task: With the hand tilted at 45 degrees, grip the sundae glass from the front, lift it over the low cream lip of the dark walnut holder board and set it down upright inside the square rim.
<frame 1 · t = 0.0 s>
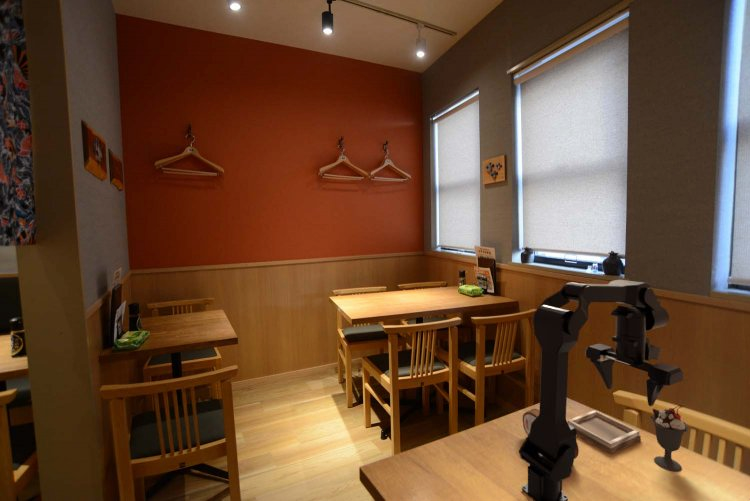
hand: (629, 396, 83), 15 cm above the table, tool pointing down, fingers open, 9 cm apart
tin: (547, 450, 88), on the table
holder board: (602, 434, 93), on the table
sundae: (667, 464, 81), on the table
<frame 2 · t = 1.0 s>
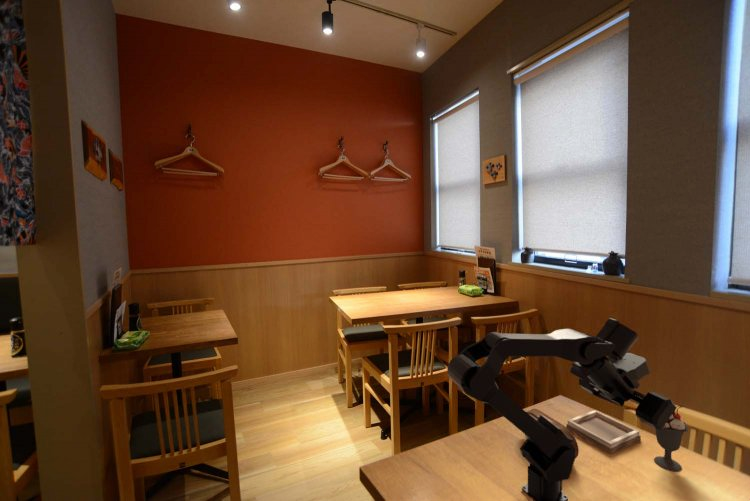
hand: (642, 414, 78), 13 cm above the table, tool tilted 45°, fingers open, 9 cm apart
nothing on the table moved.
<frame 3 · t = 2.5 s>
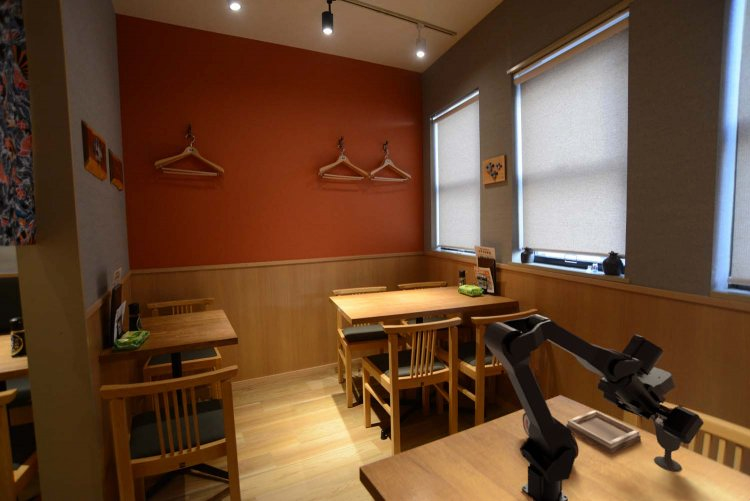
hand: (667, 427, 80), 9 cm above the table, tool tilted 45°, fingers open, 9 cm apart
nothing on the table moved.
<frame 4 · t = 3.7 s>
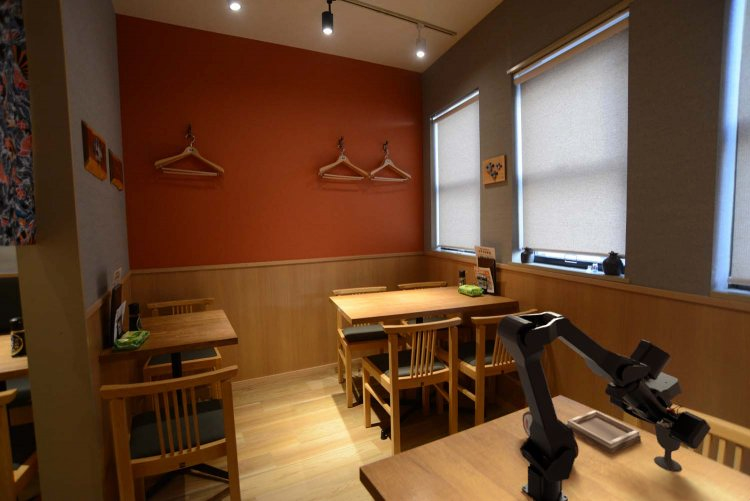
hand: (673, 431, 81), 8 cm above the table, tool tilted 45°, fingers closed on sundae, 6 cm apart
sundae: (667, 464, 81), on the table, touching gripper
everything else where it was.
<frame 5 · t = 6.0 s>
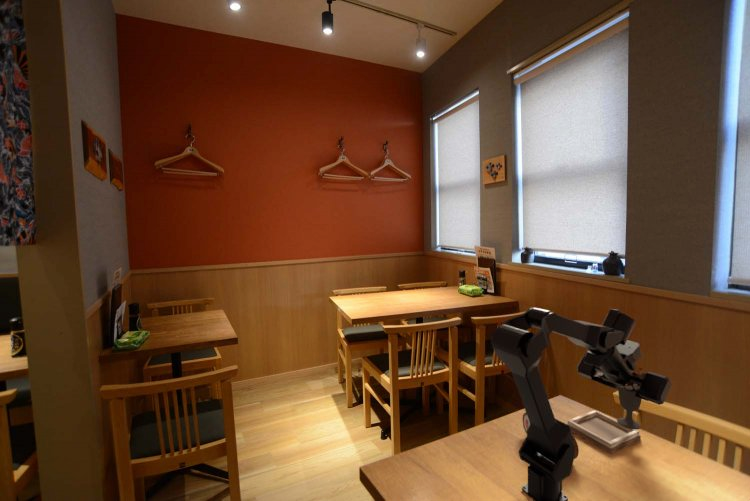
hand: (632, 393, 88), 13 cm above the table, tool tilted 45°, fingers closed on sundae, 6 cm apart
sundae: (629, 424, 88), point 5 cm above the table, touching gripper
everything else where it was.
when the fingers open (9 cm above the table, at t = 8.2 s): sundae stays where it is, resting on holder board.
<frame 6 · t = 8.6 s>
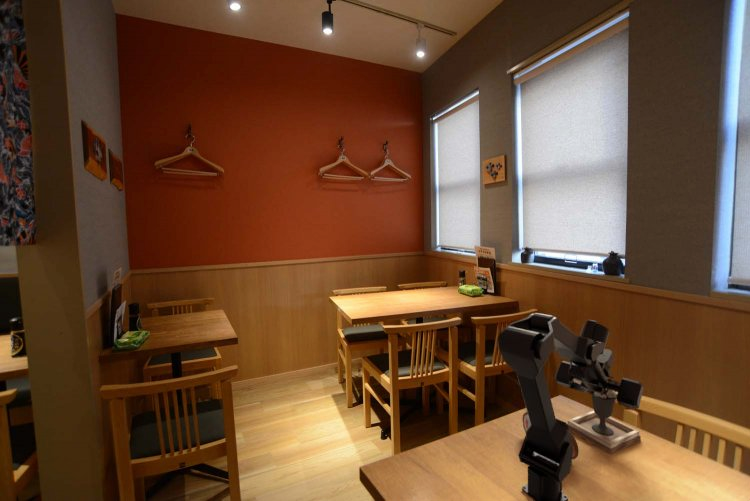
hand: (604, 397, 93), 10 cm above the table, tool tilted 45°, fingers open, 9 cm apart
sundae: (602, 430, 93), point 1 cm above the table, touching holder board
everything else where it was.
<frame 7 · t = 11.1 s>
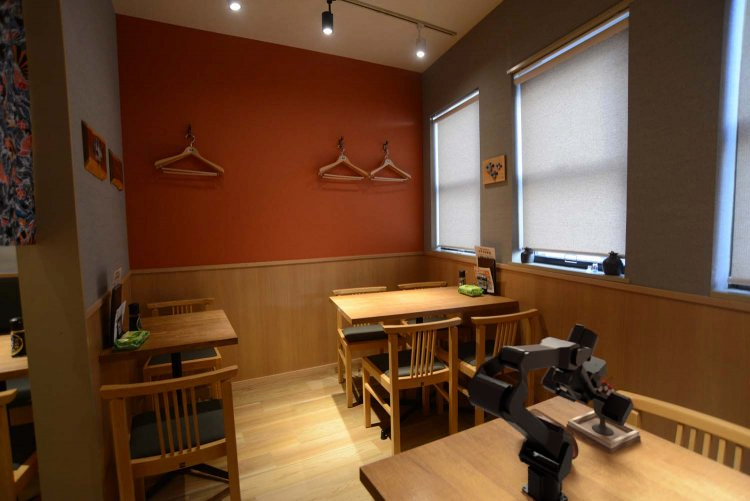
hand: (593, 409, 87), 10 cm above the table, tool tilted 40°, fingers open, 9 cm apart
nothing on the table moved.
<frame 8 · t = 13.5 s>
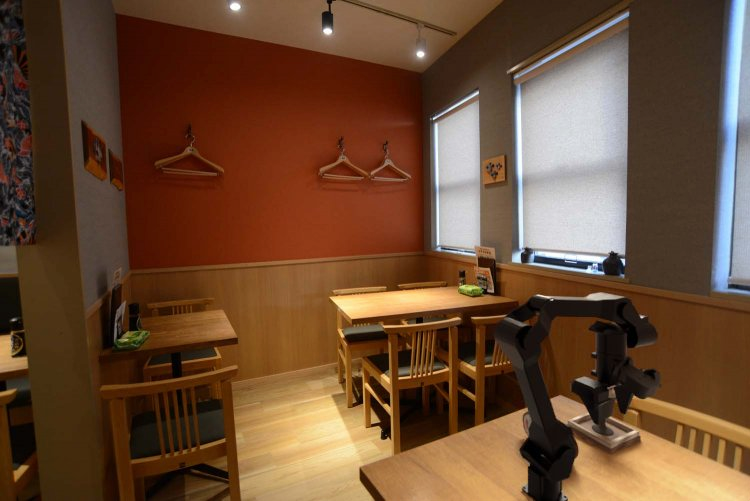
hand: (610, 418, 78), 13 cm above the table, tool pointing down, fingers open, 9 cm apart
nothing on the table moved.
at the end: sundae 0.1 cm from the target spot, point 1.0 cm above the table; sundae tilted 0°; the gripper is holding nothing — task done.
